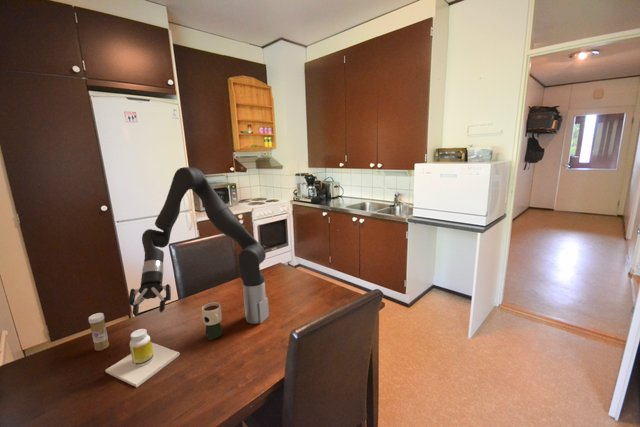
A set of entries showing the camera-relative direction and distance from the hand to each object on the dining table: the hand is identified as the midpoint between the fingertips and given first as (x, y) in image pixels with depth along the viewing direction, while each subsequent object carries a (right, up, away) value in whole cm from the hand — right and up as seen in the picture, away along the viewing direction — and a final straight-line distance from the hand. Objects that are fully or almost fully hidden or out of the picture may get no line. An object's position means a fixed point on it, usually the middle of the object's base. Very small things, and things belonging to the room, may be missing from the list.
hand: (148, 313), depth 109 cm
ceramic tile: (+3, -15, -8) cm, 17 cm away
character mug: (+23, -11, +6) cm, 26 cm away
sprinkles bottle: (-18, -13, +1) cm, 23 cm away
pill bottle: (+3, -14, -8) cm, 16 cm away
